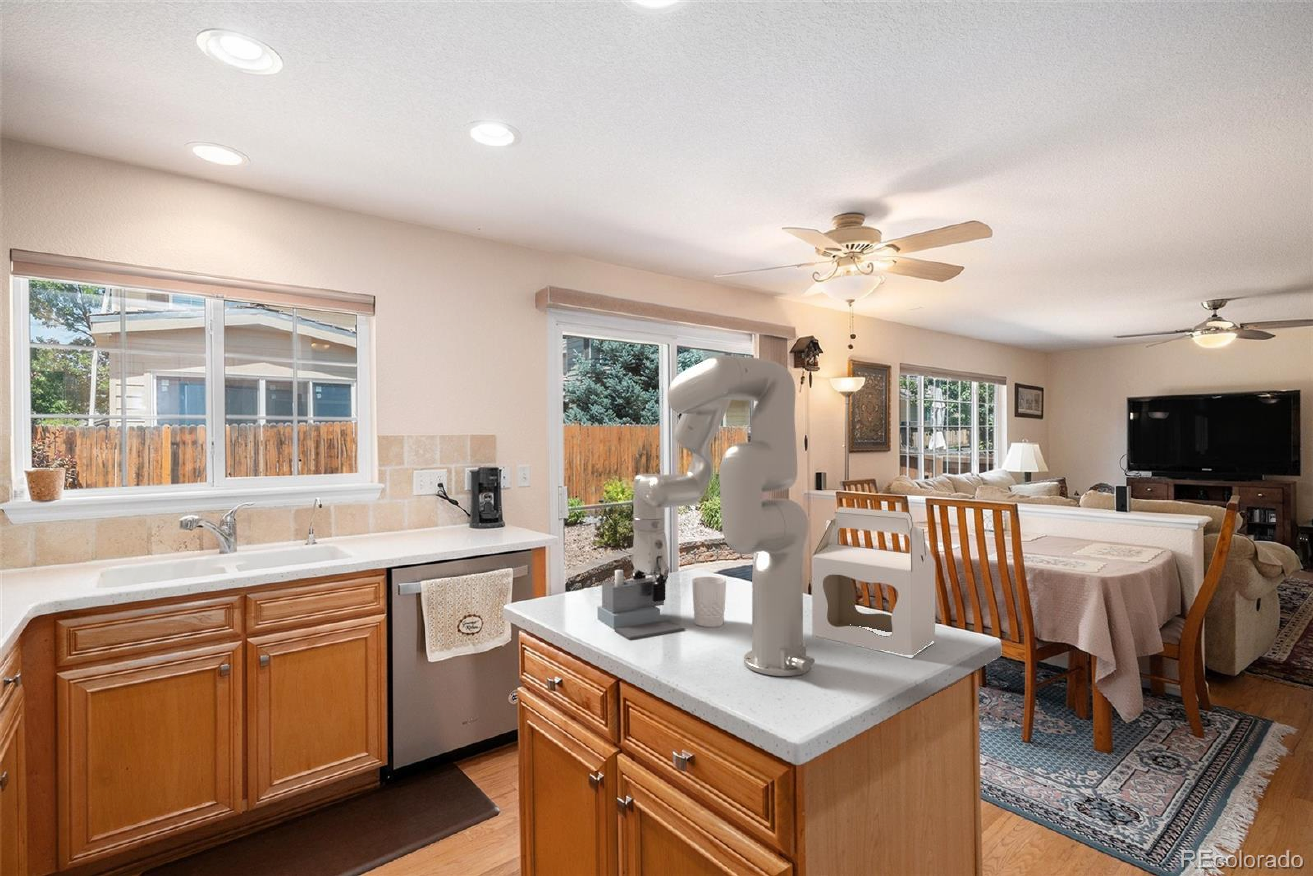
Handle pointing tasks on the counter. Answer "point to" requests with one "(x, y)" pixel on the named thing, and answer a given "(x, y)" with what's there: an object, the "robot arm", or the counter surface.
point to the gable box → (874, 566)
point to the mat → (649, 629)
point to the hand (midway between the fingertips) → (648, 596)
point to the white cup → (709, 601)
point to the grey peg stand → (628, 617)
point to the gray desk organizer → (628, 595)
